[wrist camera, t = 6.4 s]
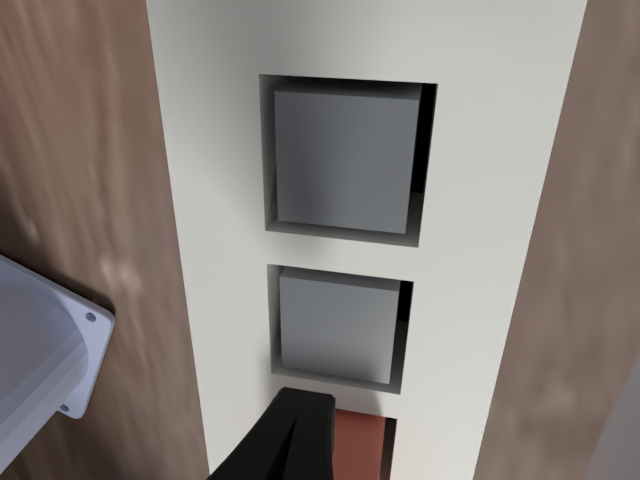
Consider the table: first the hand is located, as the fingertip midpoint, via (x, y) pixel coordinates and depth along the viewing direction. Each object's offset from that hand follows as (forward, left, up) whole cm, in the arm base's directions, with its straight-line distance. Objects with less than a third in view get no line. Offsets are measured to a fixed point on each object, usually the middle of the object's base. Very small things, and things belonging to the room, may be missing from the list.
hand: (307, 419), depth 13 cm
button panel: (0, 0, -8) cm, 8 cm away
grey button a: (-2, +5, -8) cm, 9 cm away
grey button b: (0, 0, -8) cm, 8 cm away
